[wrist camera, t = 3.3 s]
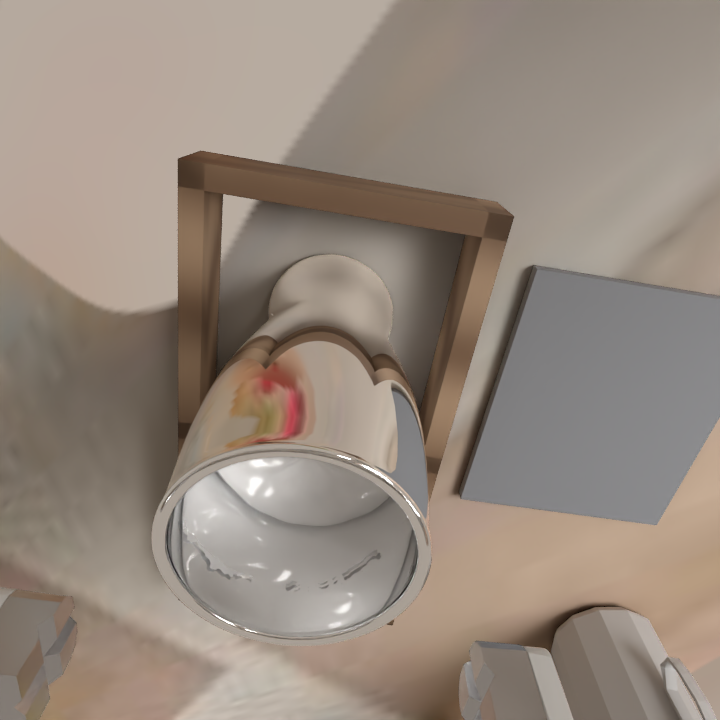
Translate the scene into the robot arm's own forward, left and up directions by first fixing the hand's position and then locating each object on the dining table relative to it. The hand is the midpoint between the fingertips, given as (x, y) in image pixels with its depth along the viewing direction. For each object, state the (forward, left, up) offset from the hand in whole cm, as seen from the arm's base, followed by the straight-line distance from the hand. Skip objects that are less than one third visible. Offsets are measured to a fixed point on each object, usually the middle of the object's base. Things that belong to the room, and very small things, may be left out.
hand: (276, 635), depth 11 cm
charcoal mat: (+3, +15, -17) cm, 23 cm away
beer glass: (0, 0, -17) cm, 17 cm away
